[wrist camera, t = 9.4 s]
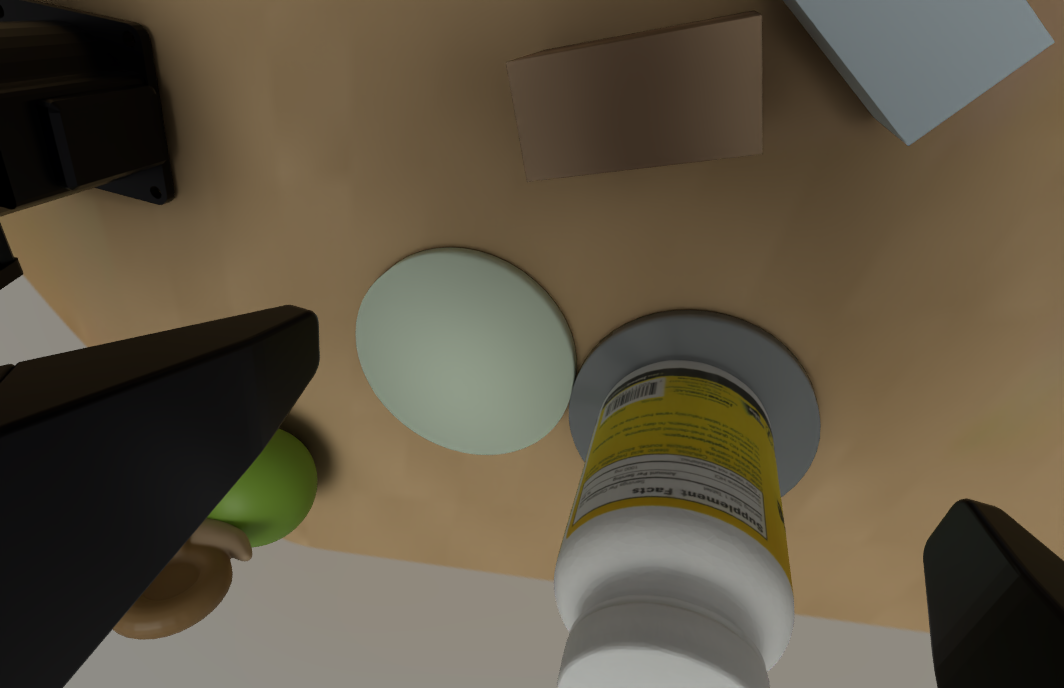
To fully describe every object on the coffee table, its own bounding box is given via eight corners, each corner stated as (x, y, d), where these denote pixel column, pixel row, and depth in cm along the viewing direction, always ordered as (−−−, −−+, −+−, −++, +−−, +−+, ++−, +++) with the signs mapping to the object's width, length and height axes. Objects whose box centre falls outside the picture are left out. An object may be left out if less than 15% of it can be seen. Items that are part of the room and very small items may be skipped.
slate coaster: (555, 467, 26) (550, 480, 26) (598, 281, 22) (594, 290, 21) (765, 532, 25) (767, 547, 24) (861, 349, 20) (865, 361, 20)
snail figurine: (211, 392, 30) (-47, 594, 20) (328, 411, 28) (113, 640, 18) (239, 477, 33) (23, 693, 23) (347, 498, 31) (168, 740, 21)
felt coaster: (364, 409, 28) (355, 419, 27) (366, 222, 23) (355, 228, 22) (555, 467, 26) (550, 480, 26) (598, 281, 22) (594, 290, 21)
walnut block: (559, 149, 20) (527, 181, 17) (544, 50, 19) (505, 62, 15) (755, 124, 18) (762, 154, 15) (754, 10, 17) (762, 14, 13)
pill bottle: (724, 512, 24) (726, 834, 15) (578, 451, 25) (492, 728, 15) (806, 394, 21) (876, 715, 12) (636, 326, 21) (571, 582, 12)
